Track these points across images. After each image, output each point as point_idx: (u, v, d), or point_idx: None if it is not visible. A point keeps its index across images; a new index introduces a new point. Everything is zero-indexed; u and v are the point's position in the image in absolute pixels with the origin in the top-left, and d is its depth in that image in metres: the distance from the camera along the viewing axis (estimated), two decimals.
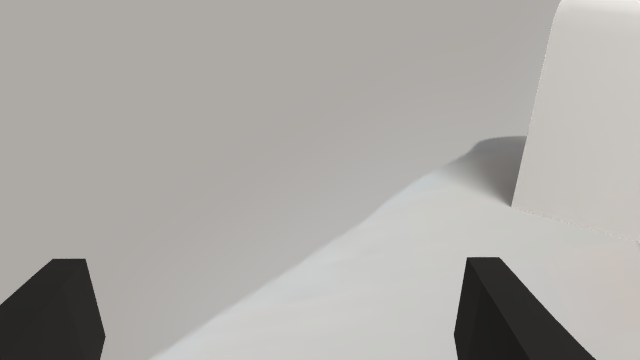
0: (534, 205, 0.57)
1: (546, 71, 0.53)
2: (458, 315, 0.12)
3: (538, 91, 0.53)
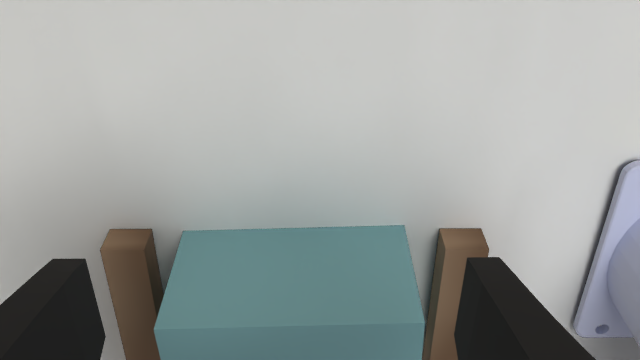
0: None
1: None
2: (458, 315, 0.12)
3: None
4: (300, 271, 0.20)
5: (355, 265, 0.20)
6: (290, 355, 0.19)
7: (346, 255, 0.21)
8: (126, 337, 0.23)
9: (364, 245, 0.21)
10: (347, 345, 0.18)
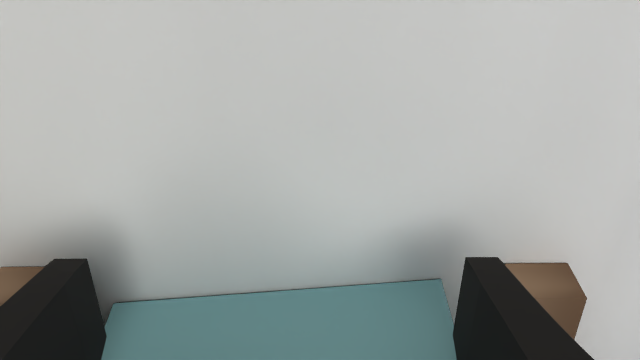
0: None
1: None
2: (457, 315, 0.12)
3: None
4: None
5: None
6: None
7: (356, 342, 0.13)
8: None
9: (383, 322, 0.14)
10: None
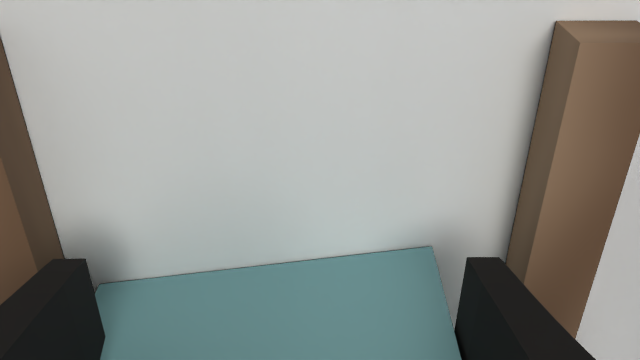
0: None
1: None
2: (458, 315, 0.12)
3: None
4: (266, 346, 0.12)
5: (357, 329, 0.12)
6: None
7: (342, 311, 0.13)
8: None
9: (371, 291, 0.13)
10: None
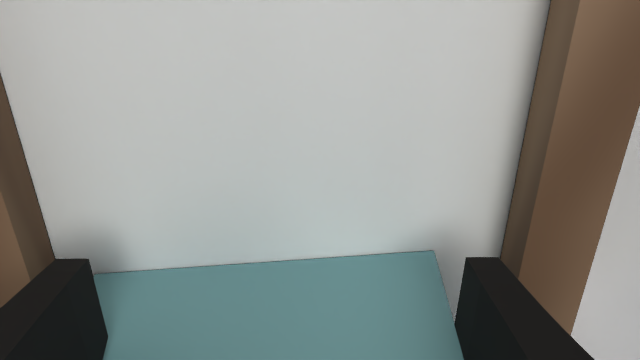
0: None
1: None
2: (457, 315, 0.12)
3: None
4: (268, 343, 0.12)
5: (360, 329, 0.12)
6: None
7: (344, 311, 0.13)
8: None
9: (373, 292, 0.13)
10: None
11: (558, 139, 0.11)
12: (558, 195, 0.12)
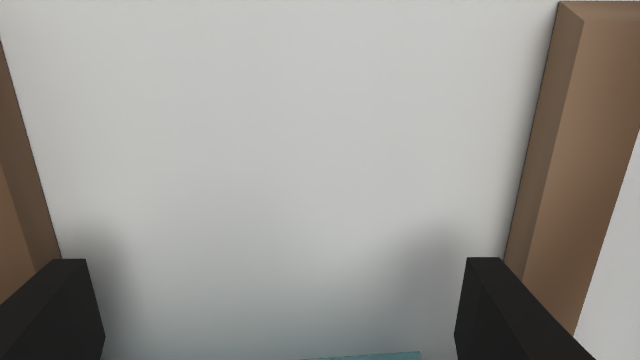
0: None
1: None
2: (458, 315, 0.12)
3: None
4: None
5: None
6: None
7: None
8: None
9: None
10: None
11: (528, 287, 0.13)
12: None
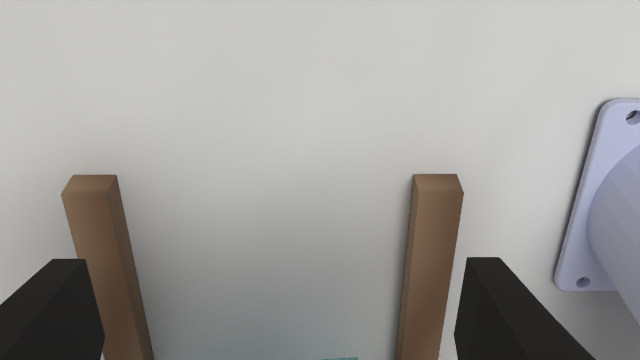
0: None
1: None
2: (458, 315, 0.12)
3: None
4: None
5: None
6: None
7: None
8: None
9: None
10: None
11: (409, 321, 0.23)
12: (413, 343, 0.24)
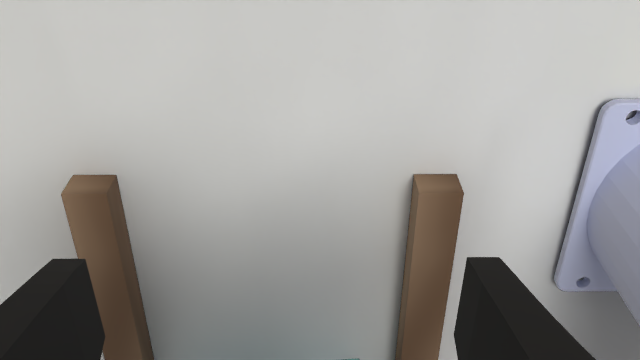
0: None
1: None
2: (458, 315, 0.12)
3: None
4: None
5: None
6: None
7: None
8: None
9: None
10: None
11: (409, 321, 0.23)
12: (413, 343, 0.24)
